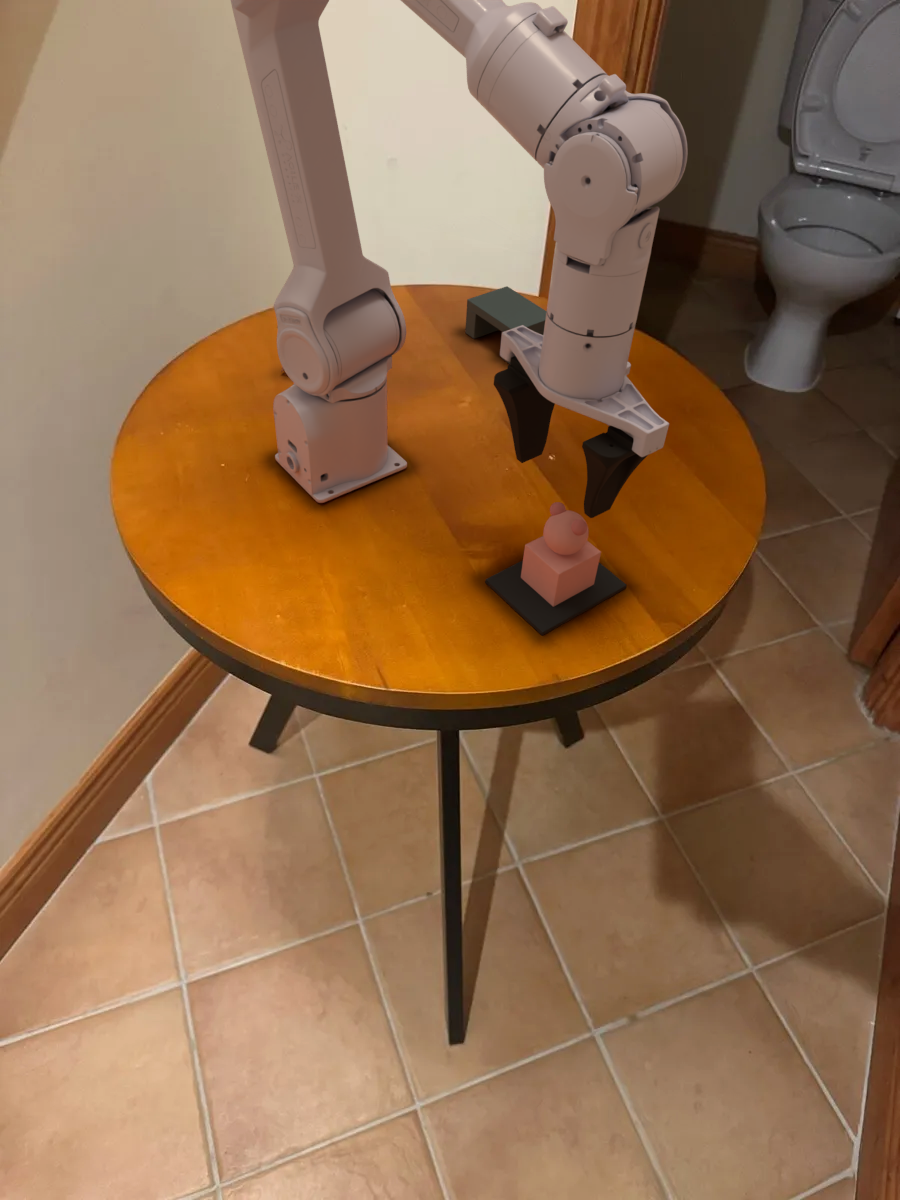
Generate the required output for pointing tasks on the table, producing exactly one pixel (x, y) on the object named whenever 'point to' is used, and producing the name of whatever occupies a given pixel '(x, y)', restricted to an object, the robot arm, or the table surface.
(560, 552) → the toy
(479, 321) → the grey step stool
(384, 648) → the table surface
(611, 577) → the mat
